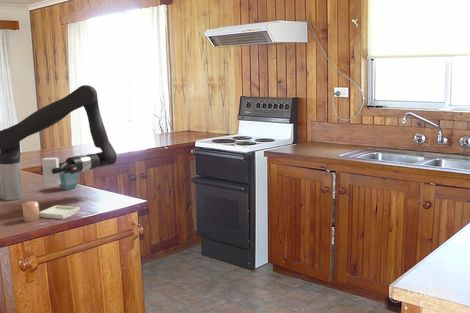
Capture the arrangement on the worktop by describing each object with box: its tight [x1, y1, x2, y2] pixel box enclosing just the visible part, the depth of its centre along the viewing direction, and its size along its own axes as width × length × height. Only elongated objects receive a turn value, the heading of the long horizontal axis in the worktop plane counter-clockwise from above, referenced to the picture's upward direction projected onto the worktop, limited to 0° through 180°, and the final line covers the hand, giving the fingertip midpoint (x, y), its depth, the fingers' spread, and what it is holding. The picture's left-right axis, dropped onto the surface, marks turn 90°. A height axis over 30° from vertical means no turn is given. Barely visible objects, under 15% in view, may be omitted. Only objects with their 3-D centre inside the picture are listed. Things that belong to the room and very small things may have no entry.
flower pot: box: [58, 172, 80, 191], centre depth 257 cm, size 9×9×9 cm
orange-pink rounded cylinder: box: [22, 200, 41, 223], centre depth 204 cm, size 6×6×7 cm
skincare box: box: [41, 157, 61, 187], centre depth 217 cm, size 6×4×12 cm
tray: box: [39, 204, 81, 220], centre depth 212 cm, size 12×12×2 cm
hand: (46, 170), depth 215 cm, fingers closed on skincare box, 7 cm apart
